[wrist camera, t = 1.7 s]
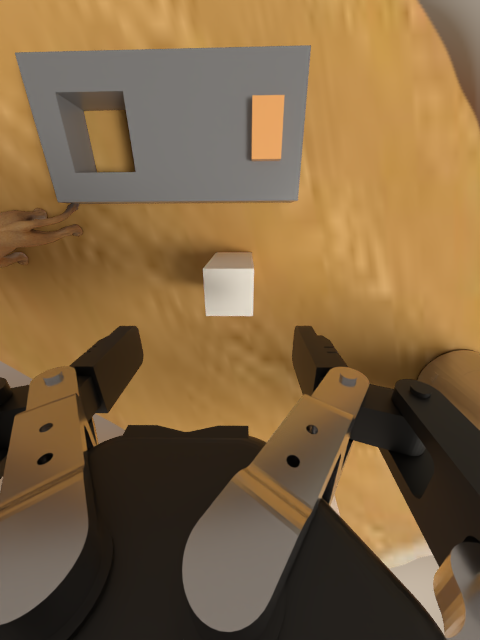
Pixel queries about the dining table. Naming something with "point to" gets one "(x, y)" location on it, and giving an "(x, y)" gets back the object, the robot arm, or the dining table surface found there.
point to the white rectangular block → (229, 284)
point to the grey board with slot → (174, 122)
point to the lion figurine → (30, 232)
